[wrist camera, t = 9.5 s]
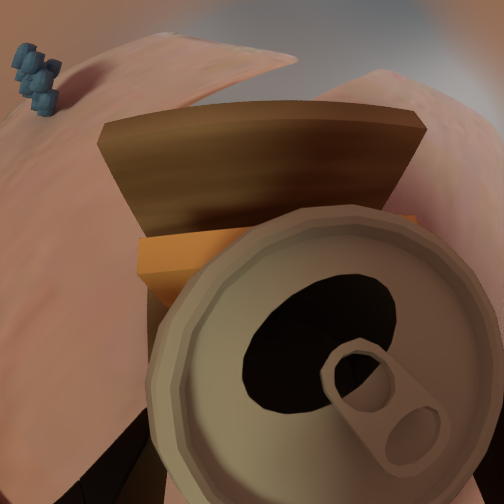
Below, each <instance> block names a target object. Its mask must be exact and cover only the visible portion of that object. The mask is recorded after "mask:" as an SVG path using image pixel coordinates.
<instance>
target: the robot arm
mask: <svg viewBox="0 0 504 504" xmlns="http://www.w3.org/2000/svg"><path fill="white" fill-rule="evenodd" d="M473 476H474V479H475V481H476V483H477V485H478V488H479V490H480V492H481V495H482V498H483V500H484V503H485V504H504V393H503V404H502V408H501V411H500V415H499V418H498V421H497V424H496V427H495V430H494V433H493V436H492V439H491V442H490V444H489V447H488V449H487V452H486V454H485V455H484V457H483V459H482V460H481V462H480V464H479V465H478V467H477V468H476V470H475V471H474V473H473ZM166 479H167V469H166V468H165V466H164V464H163V462H162V460H161V458H160V456H159V454H158V452H157V450H156V448H155V446H154V444H153V442H152V440H151V434H150V427H149V419H148V410H147V408H145V409H144V410H143V411H142V412H141V413H140V414H139V415H138V416H137V417H136V418H135V420H134V421H133V422H132V423H131V424H130V425H129V426H128V427H127V428H126V429H125V431H124V432H123V433H122V434H121V435H120V436H119V437H118V438H117V439H116V440H115V441H114V443H113V444H112V445H111V446H110V447H109V448H108V449H107V450H106V451H105V452H104V453H103V454H102V455H101V457H100V458H99V459H98V460H97V461H96V462H95V463H94V464H93V465H92V466H91V467H90V468H89V469H88V470H87V471H86V472H85V474H84V475H83V476H82V477H81V478H80V481H79V480H78V481H77V482H76V483H75V484H74V485H73V486H72V487H71V488H70V489H69V490H68V491H67V492H66V493H65V494H64V495H63V496H62V497H61V498H59V499H58V500H57V501H56V502H55V503H53V504H164V496H165V487H166Z"/></svg>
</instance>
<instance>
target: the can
mask: <svg viewBox="0 0 504 504" xmlns="http://www.w3.org/2000/svg"><path fill="white" fill-rule="evenodd" d="M296 293H297V294H296ZM295 295H296V296H295ZM294 297H295V298H294ZM293 299H294V300H293ZM292 301H293V302H292ZM291 303H292V304H291ZM290 305H291V306H290ZM289 307H290V308H289ZM288 309H289V311H288ZM287 311H288V313H287ZM286 313H287V315H286ZM285 315H286V317H285ZM284 317H285V319H284ZM145 391H146V401H147V410H148V419H149V427H150V434H151V440H152V442H153V444H154V446H155V448H156V450H157V452H158V454H159V456H160V458H161V460H162V462H163V464H164V466H165V468H166V469H167V471H168V473H169V475H170V477H171V478H172V480H173V482H174V484H175V485H176V487H177V489H178V490H179V491H180V492H181V493H182V494H183V495H184V496H185V498H186V500H187V501H188V503H189V504H449V503H450V502H451V501H452V500H453V499H454V498H455V497H456V496H457V495H458V494H459V492H460V491H461V490H462V488H463V487H464V486H465V484H466V483H467V481H468V480H469V478H470V477H471V476H472V474H473V473H474V471H475V470H476V468H477V467H478V465H479V464H480V462H481V460H482V459H483V457H484V455H485V454H486V452H487V449H488V447H489V444H490V442H491V439H492V436H493V433H494V430H495V427H496V424H497V421H498V418H499V415H500V411H501V408H502V404H503V393H504V349H503V344H502V339H501V334H500V330H499V325H498V321H497V317H496V314H495V311H494V309H493V307H492V305H491V303H490V301H489V299H488V297H487V295H486V293H485V291H484V289H483V287H482V286H481V284H480V282H479V280H478V278H477V277H476V275H475V273H474V271H473V270H472V269H471V268H470V267H469V266H468V265H467V264H466V263H465V262H464V261H463V260H462V259H461V258H460V257H459V256H458V255H457V253H456V252H455V251H454V250H453V249H452V248H451V247H450V246H449V245H448V244H447V243H446V242H444V241H443V240H442V239H441V238H440V237H438V236H437V235H435V234H433V233H431V232H430V231H428V230H426V229H424V228H423V227H421V226H419V225H417V224H416V223H414V222H412V221H410V220H408V219H406V218H405V217H403V216H401V215H398V214H394V213H389V212H385V211H381V210H376V209H372V208H367V207H363V206H358V205H353V204H351V205H336V206H322V207H309V208H300V209H298V210H295V211H293V212H290V213H288V214H285V215H282V216H280V217H277V218H275V219H272V220H270V221H267V222H265V223H262V224H259V225H257V226H254V227H252V228H249V229H248V230H247V231H246V232H244V233H243V234H242V235H241V236H239V237H238V238H237V239H236V240H234V241H233V242H232V243H231V244H229V245H228V246H227V247H226V248H224V249H223V250H222V251H221V252H219V253H218V254H217V255H216V256H214V257H213V258H212V259H211V260H210V261H208V262H207V263H206V264H205V265H203V266H202V267H201V269H200V270H199V271H198V272H197V273H196V274H194V275H193V276H192V277H191V278H190V279H189V280H188V282H187V283H186V285H185V286H184V288H183V289H182V291H181V293H180V294H179V296H178V297H177V299H176V300H175V302H174V303H173V305H172V306H171V308H170V309H169V311H168V312H167V314H166V316H165V317H164V319H163V320H162V322H161V323H160V325H159V327H158V331H157V335H156V339H155V342H154V346H153V350H152V354H151V358H150V362H149V366H148V371H147V375H146V379H145Z"/></svg>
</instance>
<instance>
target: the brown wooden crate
mask: <svg viewBox="0 0 504 504" xmlns="http://www.w3.org/2000/svg"><path fill="white" fill-rule="evenodd" d="M426 131H427V128H426V126H425V125H424V124H423V122H422V121H421V120H420V118H419V117H418V116H417V115H416V113H415V112H414V111H410V110H404V109H397V108H391V107H383V106H375V105H366V104H356V103H344V102H329V101H297V100H296V101H294V100H293V101H292V100H289V101H288V100H287V101H286V100H285V101H284V100H282V101H250V102H235V103H221V104H211V105H202V106H194V107H186V108H179V109H172V110H166V111H160V112H155V113H149V114H144V115H139V116H134V117H130V118H125V119H121V120H116V121H112V122H108V123H105V124H104V127H103V129H102V132H101V134H100V137H99V139H98V142H97V145H98V147H99V149H100V152H101V154H102V156H103V158H104V160H105V162H106V164H107V166H108V168H109V170H110V172H111V173H112V175H113V177H114V179H115V181H116V183H117V185H118V187H119V189H120V191H121V193H122V194H123V196H124V198H125V200H126V202H127V204H128V205H129V207H130V209H131V211H132V213H133V214H134V216H135V218H136V220H137V221H138V223H139V225H140V227H141V228H142V230H143V232H144V234H145V235H146V237H147V238H148V237H156V236H165V235H174V234H183V233H193V232H202V231H212V230H222V229H232V228H243V227H254V226H257V225H259V224H262V223H265V222H267V221H270V220H272V219H275V218H277V217H280V216H282V215H285V214H288V213H290V212H293V211H295V210H298V209H300V208H309V207H322V206H336V205H351V204H353V205H358V206H363V207H367V208H372V209H376V210H382V208H383V206H384V205H385V203H386V201H387V200H388V198H389V197H390V195H391V193H392V192H393V190H394V188H395V187H396V185H397V183H398V181H399V180H400V178H401V176H402V175H403V173H404V171H405V169H406V168H407V166H408V164H409V162H410V161H411V159H412V157H413V155H414V153H415V151H416V150H417V148H418V146H419V144H420V142H421V140H422V138H423V137H424V135H425V133H426ZM168 311H169V309H168V308H167V307H166V306H165V305H164V304H163V303H162V302H161V301H160V299H159V298H158V297H157V296H156V295H155V294H154V293H153V292H152V291H151V289H150V288H149V287H148V294H147V334H148V363H149V362H150V358H151V354H152V350H153V346H154V342H155V339H156V335H157V331H158V327H159V325H160V323H161V322H162V320H163V319H164V317H165V316H166V314H167V312H168Z"/></svg>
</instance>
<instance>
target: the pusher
mask: <svg viewBox="0 0 504 504" xmlns="http://www.w3.org/2000/svg"><path fill="white" fill-rule="evenodd" d="M403 217H405V218H406V219H408V220H410V221H412V222H414V223H416V224H417V225H418V222H417V220H416V218H415V215H403ZM249 228H252V227H243V228H232V229H222V230H212V231H202V232H193V233H183V234H174V235H165V236H156V237H148V238H139V250H138V264H137V275H138V276H139V277H140V278H141V279H142V280H143V282H144V283H145V284H146V285H147V286H148V287H149V288H150V289H151V291H152V292H153V293H154V294H155V295H156V296H157V297H158V298H159V299H160V301H161V302H162V303H163V304H164V305H165V306H166V307H167V308H168V309H170V308H171V306H172V305H173V303H174V302H175V300H176V299H177V297H178V296H179V294H180V293H181V291H182V289H183V288H184V286H185V285H186V283H187V282H188V280H189V279H190V278H191V277H192V276H193V275H194V274H196V273H197V272H198V271H199V270H200V269H201V267H202V266H203V265H205V264H206V263H207V262H208V261H210V260H211V259H212V258H213V257H214V256H216V255H217V254H218V253H219V252H221V251H222V250H223V249H224V248H226V247H227V246H228V245H229V244H231V243H232V242H233V241H234V240H236V239H237V238H238V237H239V236H241V235H242V234H243V233H244V232H246V231H247V230H248V229H249ZM296 294H297V293H296ZM295 296H296V295H295ZM294 298H295V297H294ZM293 300H294V299H293ZM292 302H293V301H292ZM291 304H292V303H291ZM290 306H291V305H290ZM289 308H290V307H289ZM288 311H289V309H288ZM288 311H287V313H288ZM287 313H286V315H287ZM286 315H285V317H286ZM285 317H284V319H285Z"/></svg>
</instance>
